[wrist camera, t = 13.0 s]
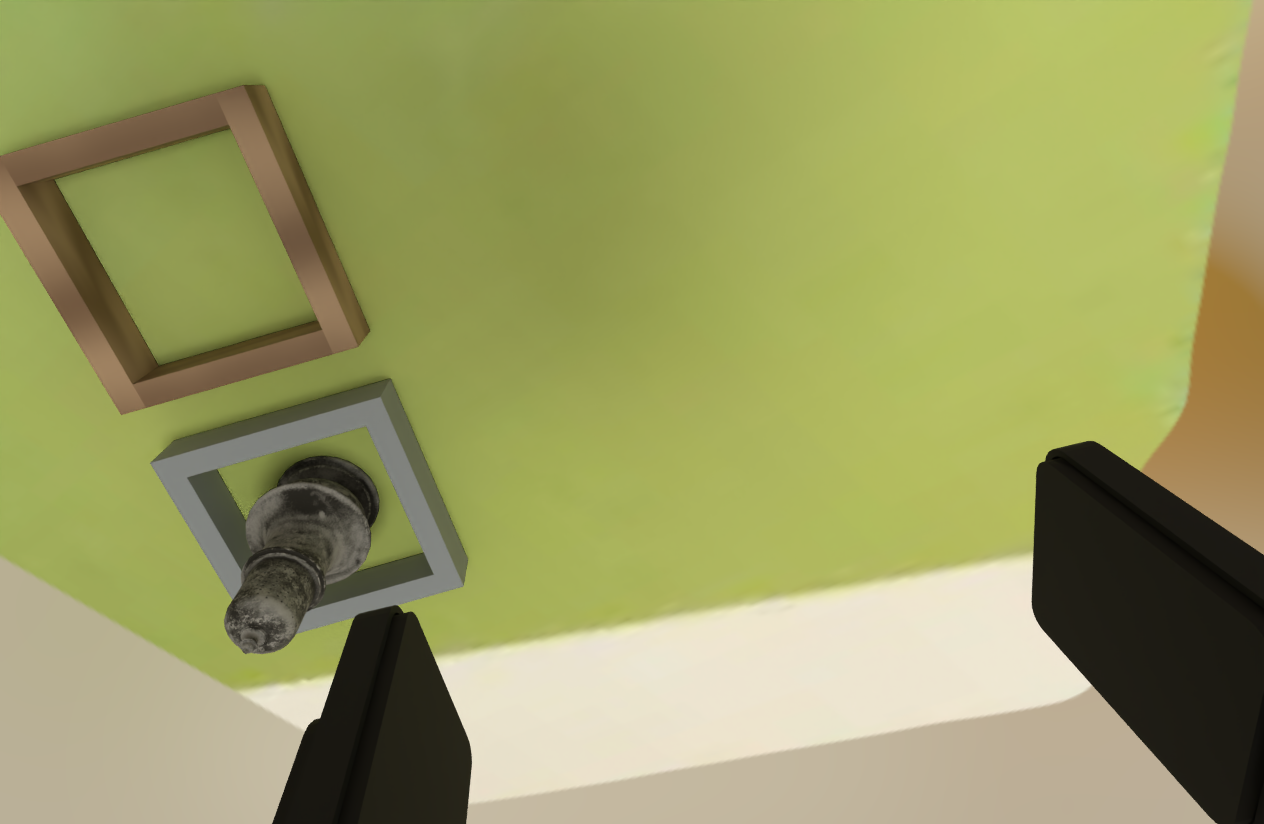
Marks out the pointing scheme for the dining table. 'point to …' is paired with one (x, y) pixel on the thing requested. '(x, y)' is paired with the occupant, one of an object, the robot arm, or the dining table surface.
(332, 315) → the walnut holder
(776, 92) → the dining table surface
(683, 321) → the dining table surface
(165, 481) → the grey holder
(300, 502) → the dark grey turned piece
